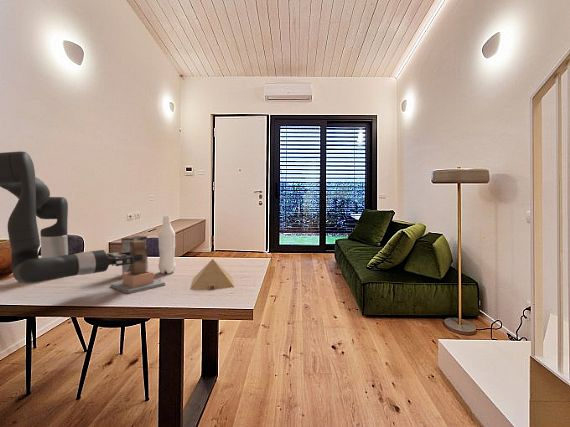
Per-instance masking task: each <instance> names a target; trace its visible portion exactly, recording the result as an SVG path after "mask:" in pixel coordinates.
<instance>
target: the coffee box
mask: <svg viewBox="0 0 570 427" xmlns="http://www.w3.org/2000/svg"><path fill="white" fill-rule="evenodd" d="M120 239H121V240H120V241H121V253H124V252H130V241H138V240H141V241H145V255H146V270H147V271H149V270H148V268H149V267H148V236H146V235H145V236H143V235H133V236H127V237H123V238H122V237H121V238H120ZM127 261H129V259H127ZM121 268H122V269H121V272H122V273H125V272H130V264H128V265H121Z"/></svg>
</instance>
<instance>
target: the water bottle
mask: <svg viewBox="0 0 570 427" xmlns="http://www.w3.org/2000/svg"><path fill="white" fill-rule="evenodd" d="M171 222H172V221H171V216H169V215H168V216H167V215H166V216H163V217H162V225H161V227H160V229H159V231H158V233H157V236H158V252H159V260H158V270H159V272H160V274H162V275H163V274H165V273H167V274H172V273H174V272H175V271H176V268H177V267H176V259H175V253H176V252H175V251H176V250H175V249H176V232H175V230H174V228H173V226H172V224H171Z"/></svg>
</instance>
